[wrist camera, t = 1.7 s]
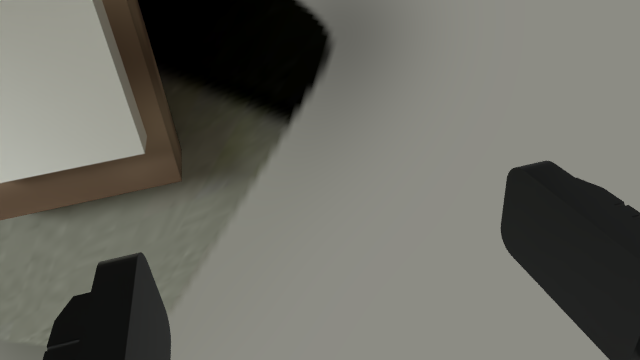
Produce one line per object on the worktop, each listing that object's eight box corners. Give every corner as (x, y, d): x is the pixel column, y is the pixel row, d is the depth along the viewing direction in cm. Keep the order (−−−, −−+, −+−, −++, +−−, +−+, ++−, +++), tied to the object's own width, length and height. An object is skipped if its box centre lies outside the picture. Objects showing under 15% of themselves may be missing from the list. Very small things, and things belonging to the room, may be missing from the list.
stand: (-189, -81, 20) (-262, -78, 17) (104, -115, 22) (90, -117, 19) (-27, 192, 27) (-56, 232, 24) (181, 149, 29) (181, 181, 26)
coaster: (-118, -2, 19) (-147, 7, 17) (91, -32, 20) (83, -26, 18) (-21, 169, 23) (-36, 190, 21) (147, 136, 24) (144, 153, 23)
